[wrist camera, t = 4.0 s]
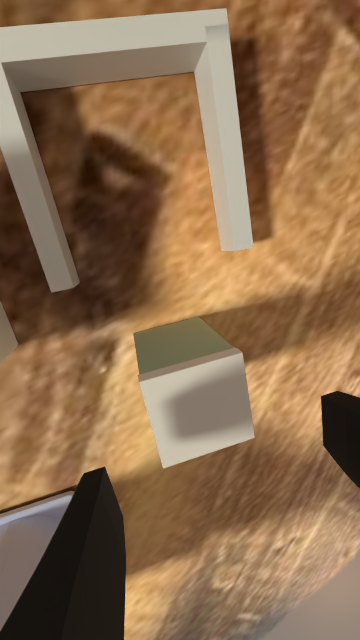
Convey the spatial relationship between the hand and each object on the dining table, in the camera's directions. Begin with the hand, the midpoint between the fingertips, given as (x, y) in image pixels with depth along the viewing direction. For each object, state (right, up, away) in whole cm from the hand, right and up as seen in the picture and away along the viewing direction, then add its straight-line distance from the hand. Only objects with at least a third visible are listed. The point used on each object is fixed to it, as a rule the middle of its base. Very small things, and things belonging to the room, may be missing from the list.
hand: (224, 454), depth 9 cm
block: (-2, +2, +8) cm, 9 cm away
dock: (-4, +11, +5) cm, 13 cm away
